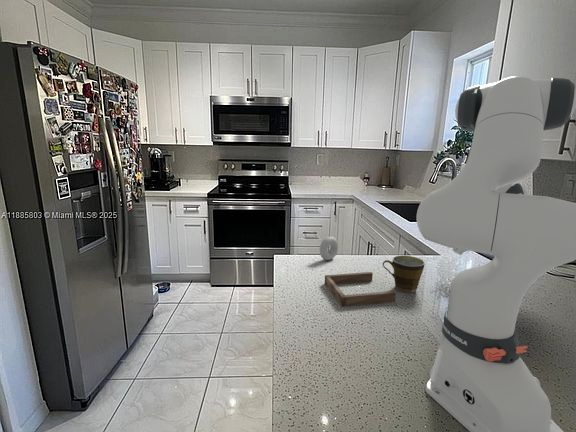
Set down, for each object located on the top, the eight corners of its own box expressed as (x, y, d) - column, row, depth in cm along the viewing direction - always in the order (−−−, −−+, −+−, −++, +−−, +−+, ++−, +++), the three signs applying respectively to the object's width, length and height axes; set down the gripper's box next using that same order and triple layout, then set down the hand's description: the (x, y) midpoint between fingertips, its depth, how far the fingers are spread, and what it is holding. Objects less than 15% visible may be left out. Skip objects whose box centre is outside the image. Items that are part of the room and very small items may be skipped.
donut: (333, 256, 137) (334, 233, 134) (339, 258, 134) (340, 235, 132) (317, 261, 130) (318, 238, 128) (323, 263, 128) (324, 239, 126)
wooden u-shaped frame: (394, 301, 97) (395, 292, 97) (342, 306, 94) (342, 297, 93) (370, 279, 113) (371, 271, 112) (324, 283, 109) (324, 275, 109)
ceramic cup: (419, 284, 110) (422, 256, 108) (423, 297, 100) (427, 267, 98) (380, 280, 113) (382, 253, 111) (381, 292, 103) (383, 263, 101)
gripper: (458, 211, 117) (431, 237, 117) (505, 224, 97) (473, 256, 97) (466, 222, 118) (440, 248, 119) (515, 237, 99) (484, 269, 99)
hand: (456, 252), depth 108 cm, fingers closed
